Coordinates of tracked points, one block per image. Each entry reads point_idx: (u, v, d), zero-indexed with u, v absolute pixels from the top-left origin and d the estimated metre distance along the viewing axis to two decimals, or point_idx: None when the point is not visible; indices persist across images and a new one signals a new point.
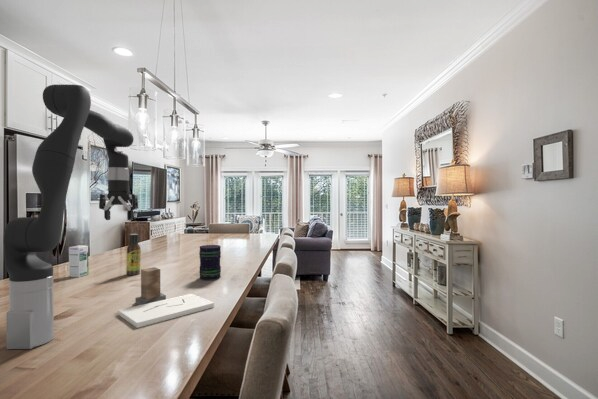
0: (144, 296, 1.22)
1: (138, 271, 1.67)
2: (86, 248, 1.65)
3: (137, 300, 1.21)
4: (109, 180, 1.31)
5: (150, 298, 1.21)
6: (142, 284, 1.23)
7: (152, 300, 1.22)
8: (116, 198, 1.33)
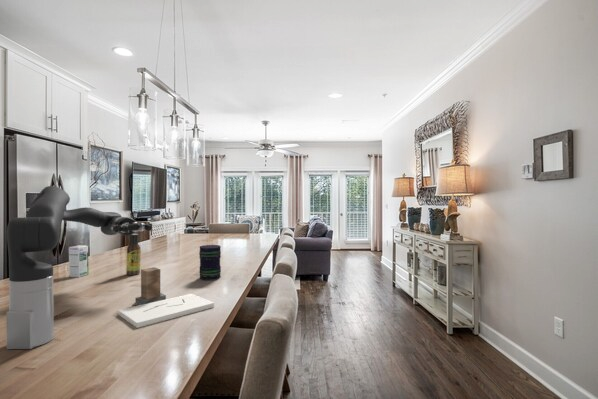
0: (144, 296, 1.22)
1: (138, 271, 1.67)
2: (86, 248, 1.65)
3: (137, 300, 1.21)
4: (119, 218, 1.41)
5: (150, 298, 1.21)
6: (142, 284, 1.23)
7: (152, 300, 1.22)
8: (130, 224, 1.37)
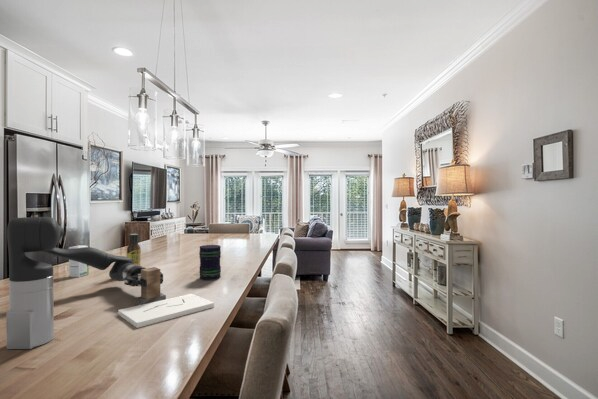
0: (144, 296, 1.22)
1: None
2: None
3: (137, 300, 1.21)
4: (131, 267, 1.32)
5: (149, 298, 1.21)
6: None
7: (152, 300, 1.22)
8: None
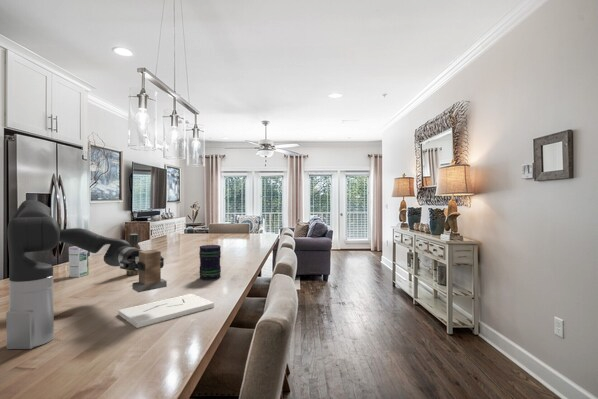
0: (142, 281, 1.08)
1: (138, 271, 1.67)
2: None
3: (134, 286, 1.08)
4: (128, 250, 1.18)
5: (148, 284, 1.08)
6: None
7: (151, 286, 1.08)
8: None
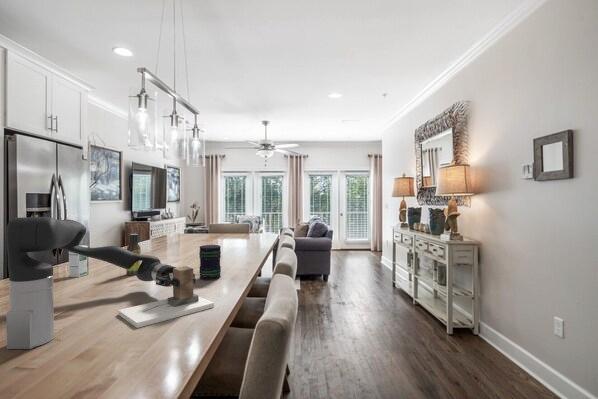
0: (177, 296, 1.16)
1: None
2: None
3: (169, 301, 1.16)
4: (161, 267, 1.27)
5: (183, 299, 1.16)
6: None
7: (185, 301, 1.16)
8: None
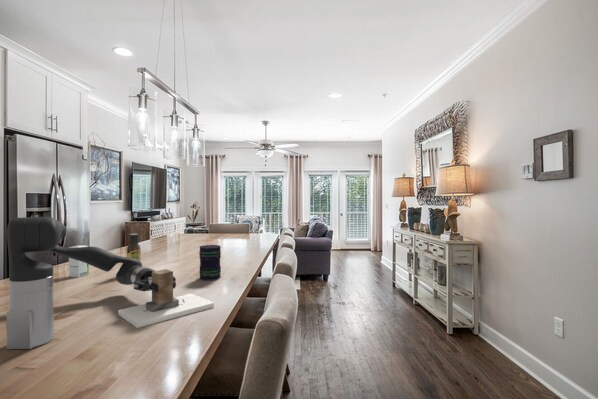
0: (155, 301, 1.11)
1: None
2: None
3: (147, 306, 1.11)
4: (140, 270, 1.21)
5: (161, 303, 1.11)
6: None
7: (164, 305, 1.11)
8: None
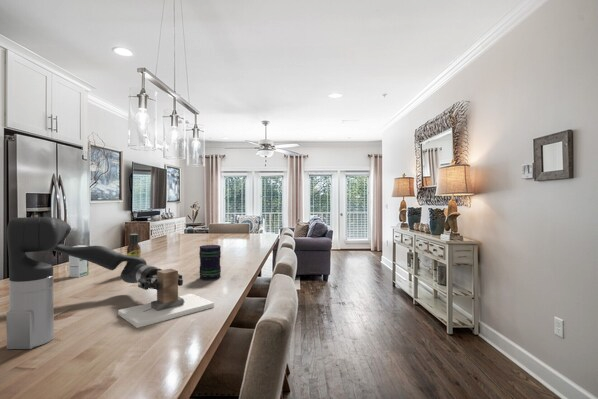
0: (161, 300, 1.12)
1: None
2: None
3: (153, 305, 1.12)
4: (145, 268, 1.22)
5: (167, 302, 1.12)
6: None
7: (169, 304, 1.12)
8: None
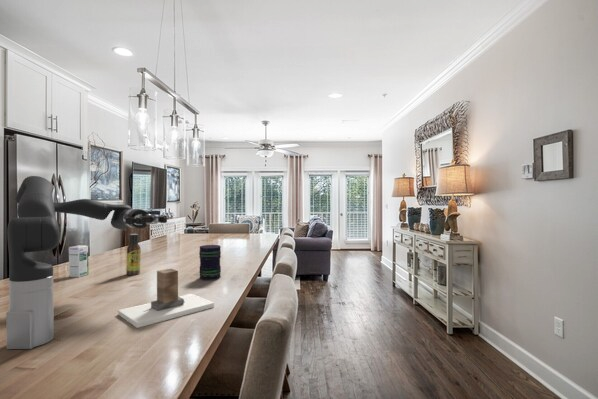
0: (161, 300, 1.12)
1: (138, 271, 1.67)
2: (86, 248, 1.65)
3: (153, 305, 1.12)
4: (132, 210, 1.31)
5: (167, 302, 1.12)
6: (158, 287, 1.13)
7: (169, 304, 1.12)
8: (143, 216, 1.27)
